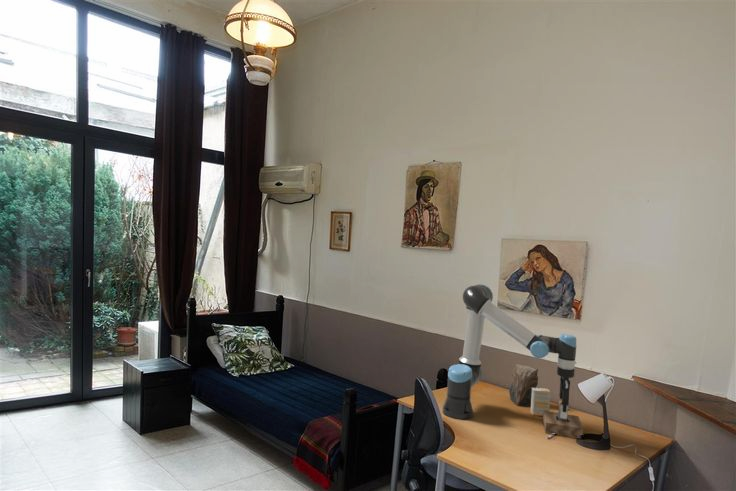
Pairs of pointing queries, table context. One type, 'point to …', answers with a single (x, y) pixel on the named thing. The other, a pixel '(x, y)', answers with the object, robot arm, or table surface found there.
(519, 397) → the brown rock
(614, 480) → the table surface
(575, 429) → the socket board
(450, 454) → the table surface
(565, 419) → the marker peg
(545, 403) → the supplement box
